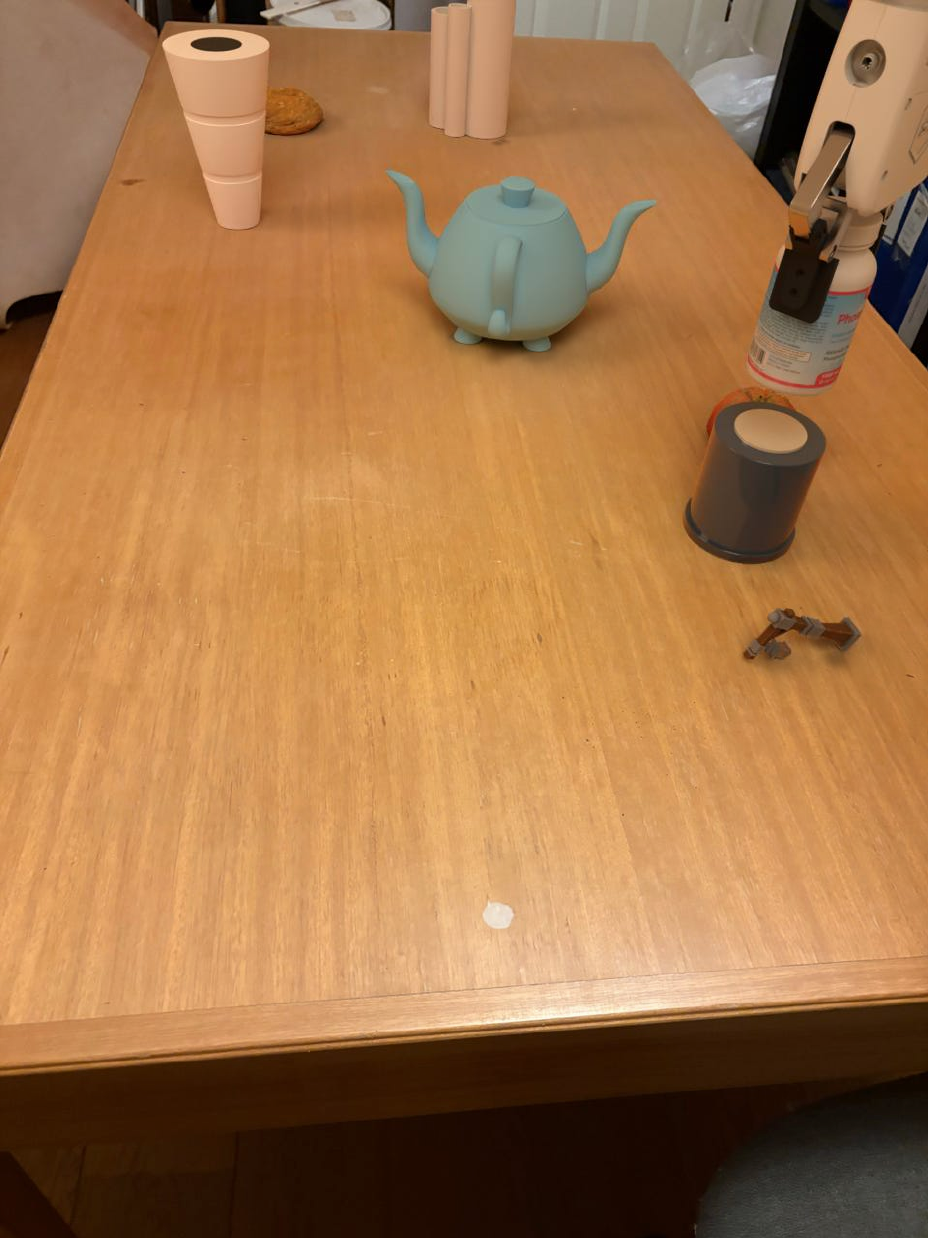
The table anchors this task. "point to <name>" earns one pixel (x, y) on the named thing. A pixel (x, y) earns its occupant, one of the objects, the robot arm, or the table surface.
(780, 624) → the wooden post with brackets
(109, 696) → the table surface
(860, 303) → the pill bottle
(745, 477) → the upturned cup
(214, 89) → the pink tapered cylinder
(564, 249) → the teapot
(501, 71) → the vase
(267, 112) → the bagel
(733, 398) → the tomato
